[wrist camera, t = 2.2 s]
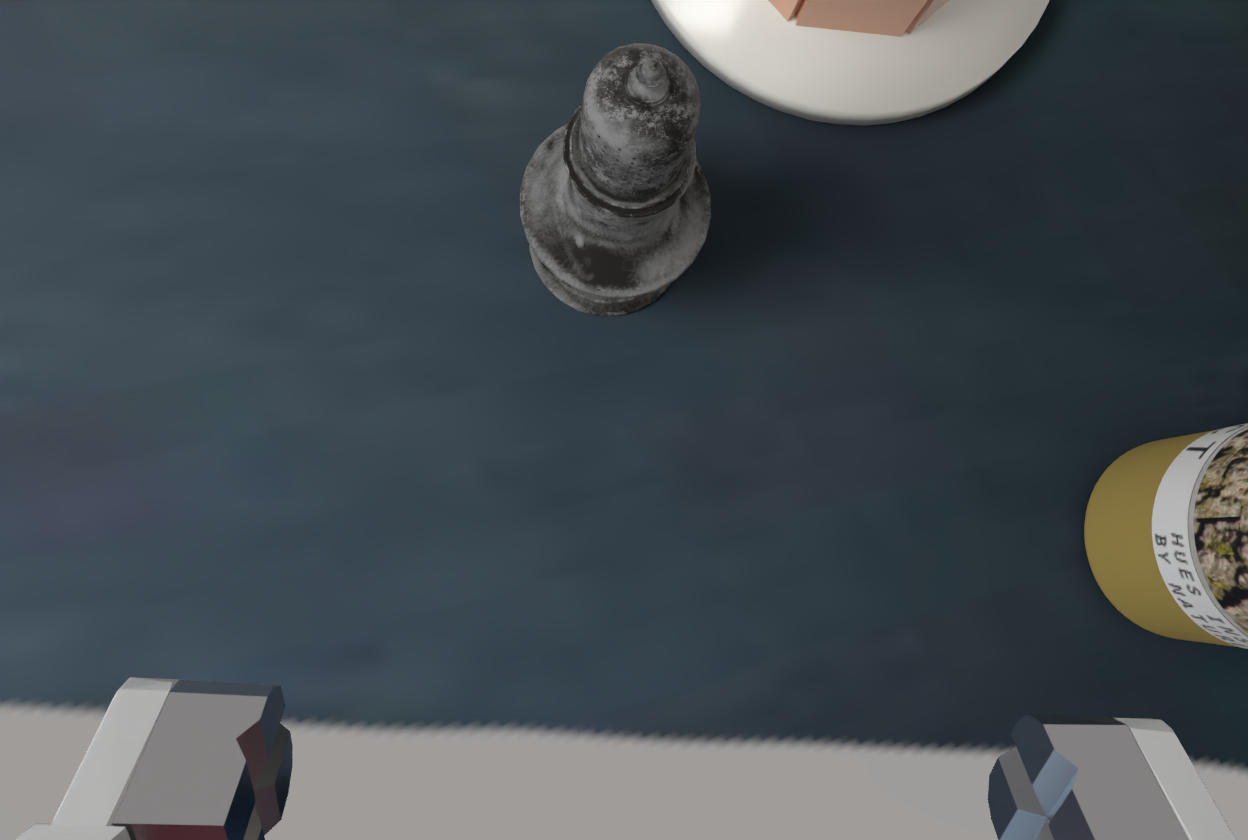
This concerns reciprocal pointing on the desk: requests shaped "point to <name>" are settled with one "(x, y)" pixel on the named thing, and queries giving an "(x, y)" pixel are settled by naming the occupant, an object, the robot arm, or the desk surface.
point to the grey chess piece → (620, 186)
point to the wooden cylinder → (1176, 536)
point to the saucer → (852, 51)
